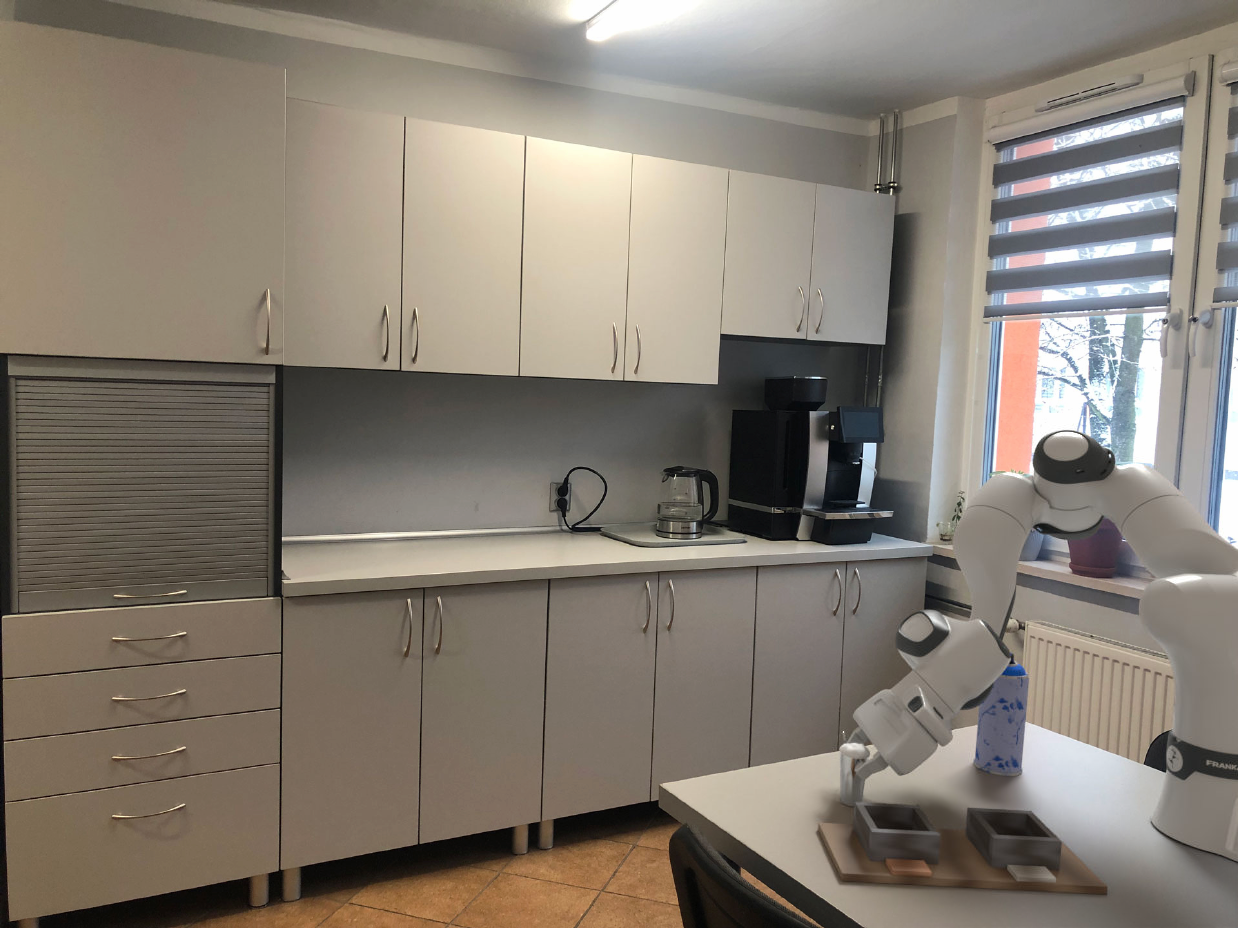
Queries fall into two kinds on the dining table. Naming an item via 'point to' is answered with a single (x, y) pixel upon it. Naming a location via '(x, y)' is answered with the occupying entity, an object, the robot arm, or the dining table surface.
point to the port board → (955, 851)
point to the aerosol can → (1003, 723)
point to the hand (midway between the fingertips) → (851, 763)
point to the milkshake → (851, 772)
